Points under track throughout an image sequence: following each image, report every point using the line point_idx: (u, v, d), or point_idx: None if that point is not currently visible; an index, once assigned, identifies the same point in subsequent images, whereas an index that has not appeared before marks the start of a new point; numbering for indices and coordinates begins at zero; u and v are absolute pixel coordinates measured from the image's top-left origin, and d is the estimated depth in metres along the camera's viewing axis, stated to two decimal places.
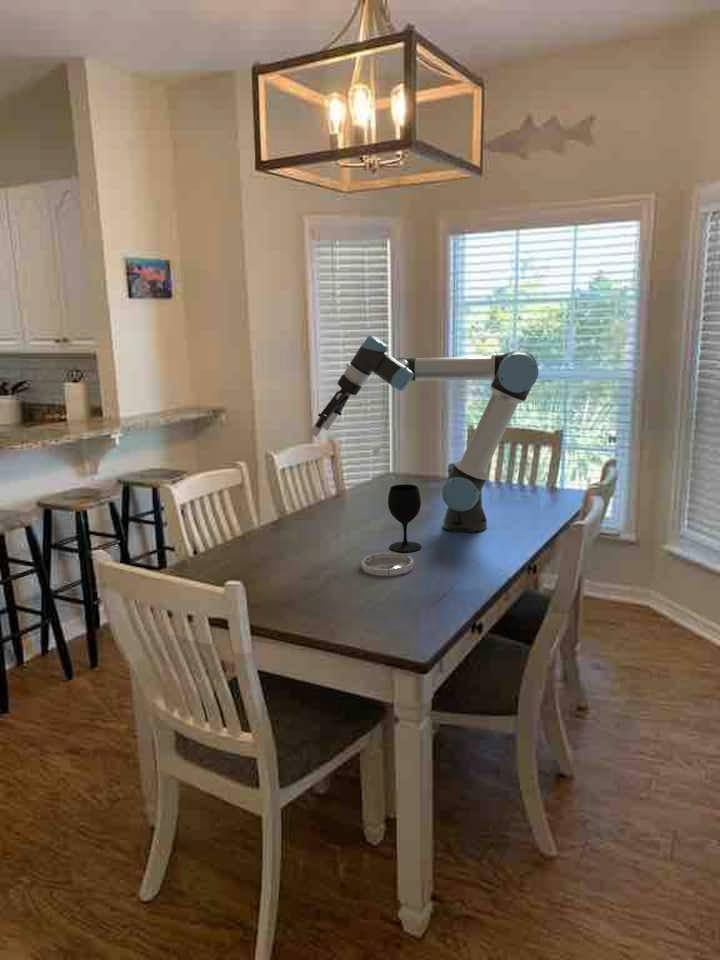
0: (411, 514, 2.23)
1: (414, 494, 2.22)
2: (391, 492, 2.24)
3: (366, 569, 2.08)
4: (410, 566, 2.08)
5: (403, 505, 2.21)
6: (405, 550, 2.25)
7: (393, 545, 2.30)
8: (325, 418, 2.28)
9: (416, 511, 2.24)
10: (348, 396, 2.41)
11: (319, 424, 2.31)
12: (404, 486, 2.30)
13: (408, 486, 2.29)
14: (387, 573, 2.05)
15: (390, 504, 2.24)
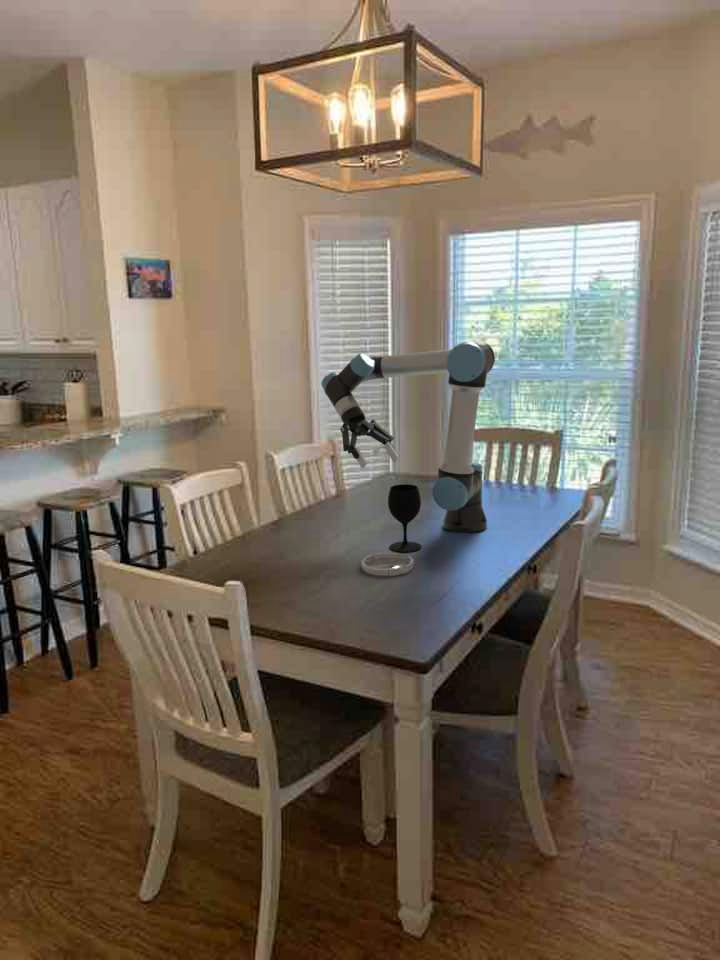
0: (411, 514, 2.23)
1: (414, 494, 2.22)
2: (391, 492, 2.24)
3: (366, 569, 2.08)
4: (410, 566, 2.08)
5: (403, 505, 2.21)
6: (405, 550, 2.25)
7: (393, 545, 2.30)
8: (346, 445, 2.28)
9: (416, 511, 2.24)
10: (374, 424, 2.40)
11: (354, 454, 2.28)
12: (404, 486, 2.30)
13: (408, 486, 2.29)
14: (387, 573, 2.05)
15: (390, 504, 2.24)
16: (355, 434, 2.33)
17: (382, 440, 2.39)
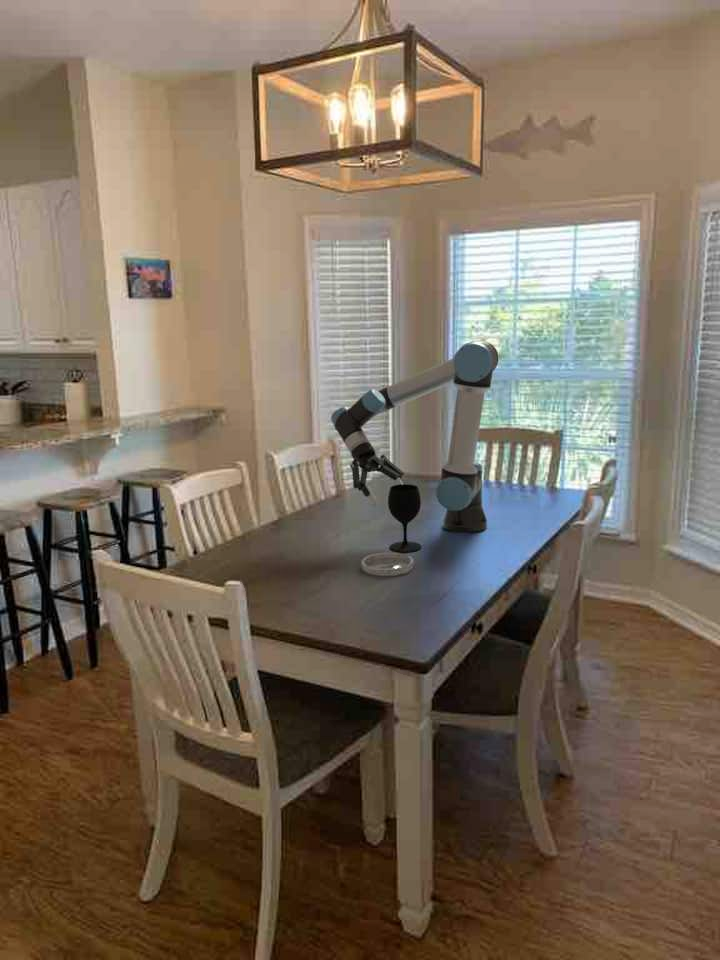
0: (411, 514, 2.23)
1: (414, 494, 2.22)
2: (391, 492, 2.24)
3: (366, 569, 2.08)
4: (410, 566, 2.08)
5: (403, 505, 2.21)
6: (405, 550, 2.25)
7: (393, 545, 2.30)
8: (356, 483, 2.26)
9: (416, 511, 2.24)
10: (384, 459, 2.38)
11: (364, 492, 2.27)
12: (404, 486, 2.30)
13: (408, 486, 2.29)
14: (387, 573, 2.05)
15: (390, 504, 2.24)
16: (365, 471, 2.31)
17: (392, 476, 2.37)
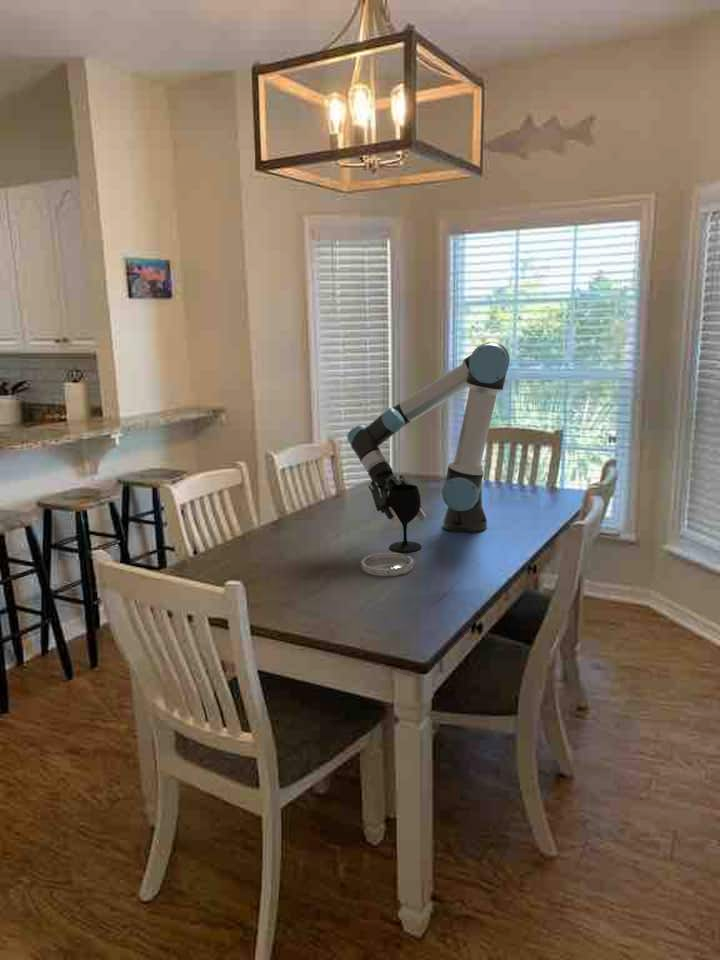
0: (411, 514, 2.23)
1: (414, 494, 2.22)
2: (391, 492, 2.23)
3: (366, 569, 2.08)
4: (410, 566, 2.08)
5: (402, 505, 2.21)
6: (405, 550, 2.25)
7: (393, 545, 2.30)
8: (380, 506, 2.22)
9: (416, 511, 2.24)
10: (402, 480, 2.34)
11: (388, 515, 2.23)
12: (404, 486, 2.30)
13: (408, 486, 2.29)
14: (387, 573, 2.05)
15: (390, 504, 2.24)
16: (385, 492, 2.27)
17: None
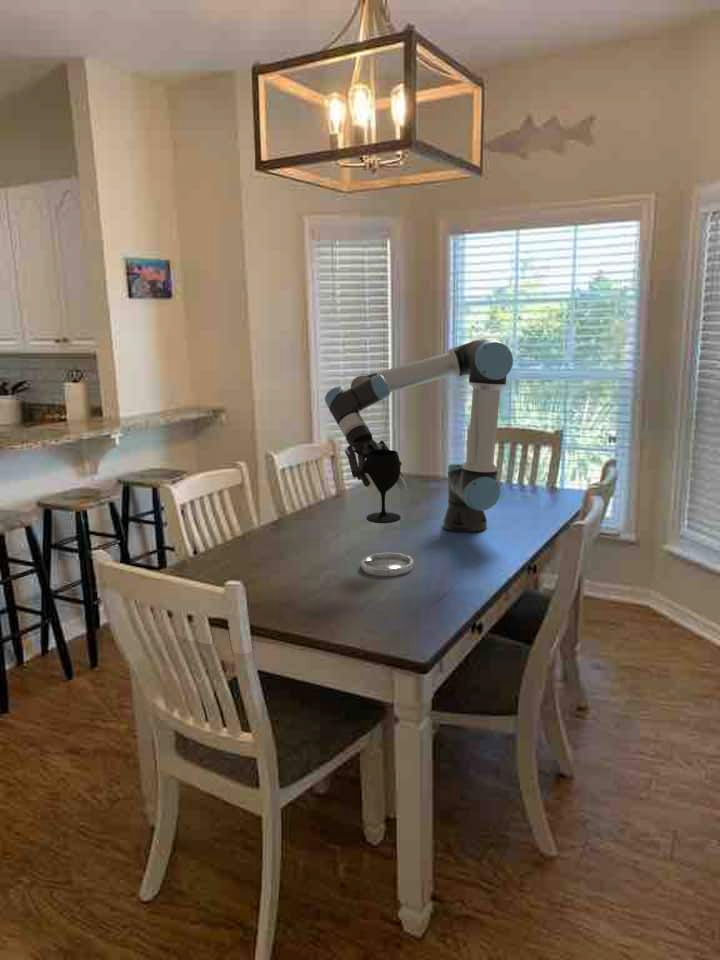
0: (389, 481, 2.05)
1: (393, 460, 2.04)
2: (368, 457, 2.06)
3: (366, 569, 2.08)
4: (410, 566, 2.08)
5: (380, 471, 2.04)
6: (382, 520, 2.08)
7: (370, 515, 2.13)
8: (355, 472, 2.05)
9: (395, 478, 2.06)
10: (382, 446, 2.16)
11: (364, 481, 2.05)
12: (383, 452, 2.12)
13: (387, 452, 2.12)
14: (387, 573, 2.05)
15: (367, 470, 2.06)
16: (363, 457, 2.09)
17: None
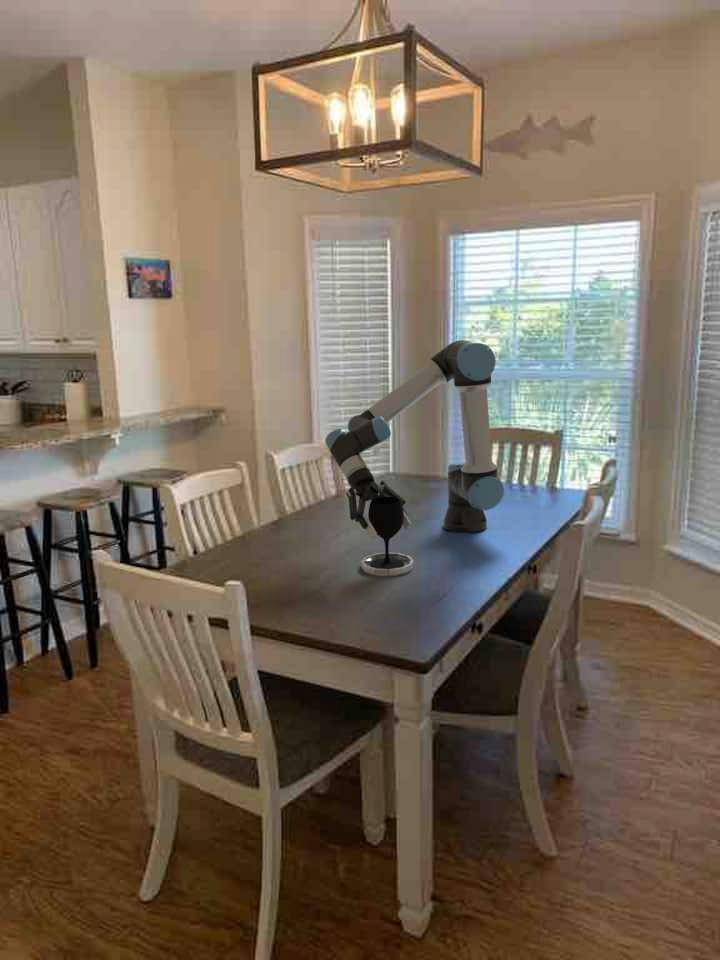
0: (393, 529, 2.06)
1: (396, 508, 2.05)
2: (371, 505, 2.06)
3: (366, 569, 2.08)
4: (410, 566, 2.08)
5: (384, 520, 2.04)
6: (387, 568, 2.08)
7: (374, 562, 2.13)
8: (353, 514, 2.04)
9: (398, 526, 2.06)
10: (384, 486, 2.16)
11: (362, 524, 2.05)
12: (386, 499, 2.12)
13: (390, 499, 2.12)
14: (387, 573, 2.05)
15: (370, 518, 2.07)
16: (363, 500, 2.09)
17: None
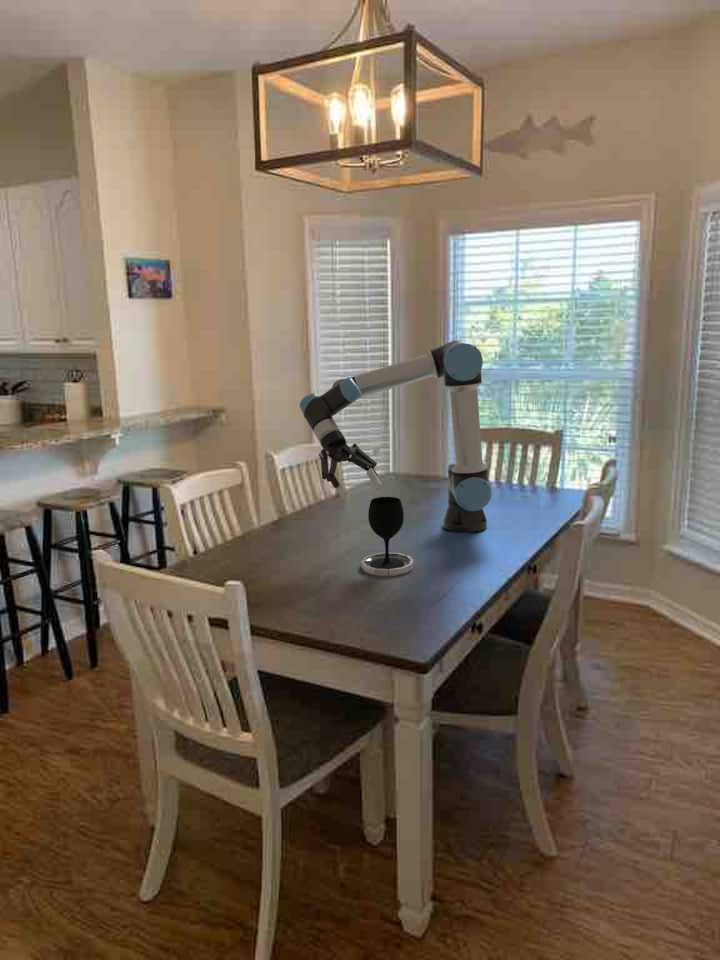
0: (393, 529, 2.06)
1: (396, 508, 2.05)
2: (371, 505, 2.06)
3: (366, 569, 2.08)
4: (410, 566, 2.08)
5: (384, 520, 2.04)
6: (387, 568, 2.08)
7: (374, 562, 2.13)
8: (324, 473, 2.12)
9: (398, 526, 2.06)
10: (356, 449, 2.24)
11: (333, 483, 2.12)
12: (386, 499, 2.12)
13: (390, 499, 2.12)
14: (387, 573, 2.05)
15: (370, 518, 2.07)
16: (335, 460, 2.16)
17: (364, 466, 2.22)
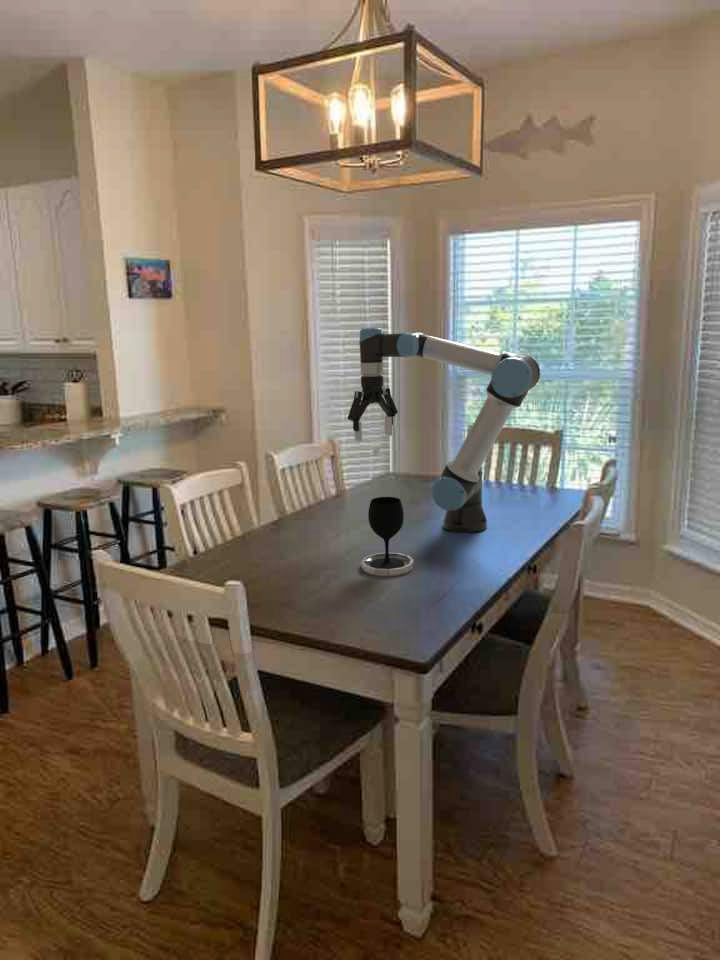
0: (393, 529, 2.06)
1: (396, 508, 2.05)
2: (371, 505, 2.06)
3: (366, 569, 2.08)
4: (410, 566, 2.08)
5: (384, 520, 2.04)
6: (387, 568, 2.08)
7: (374, 562, 2.13)
8: (351, 418, 2.34)
9: (398, 526, 2.06)
10: (387, 394, 2.42)
11: (354, 427, 2.36)
12: (386, 499, 2.12)
13: (390, 499, 2.12)
14: (387, 573, 2.05)
15: (370, 518, 2.07)
16: (365, 405, 2.36)
17: (386, 412, 2.44)
